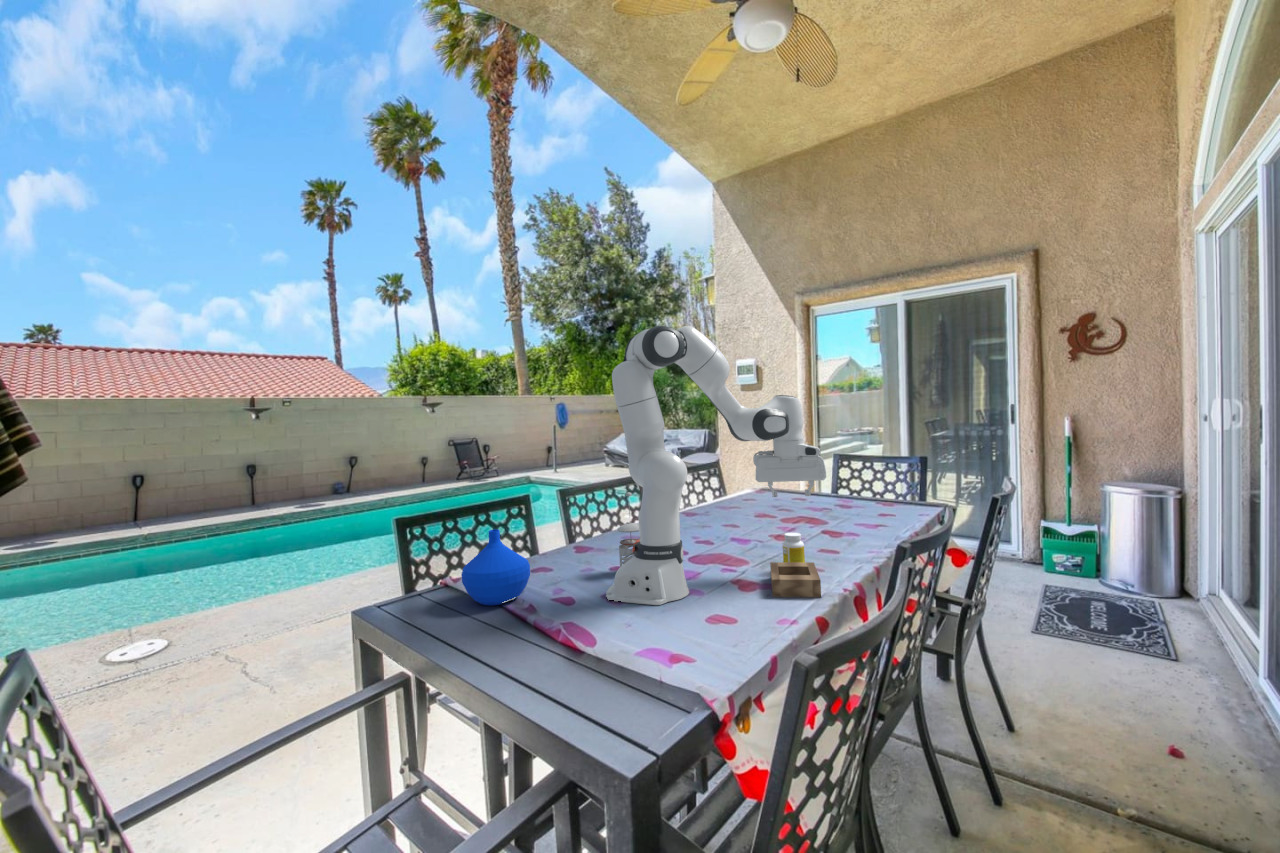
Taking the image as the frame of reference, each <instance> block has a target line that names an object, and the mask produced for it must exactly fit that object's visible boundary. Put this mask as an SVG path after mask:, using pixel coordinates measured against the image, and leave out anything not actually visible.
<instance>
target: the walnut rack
mask: <svg viewBox="0 0 1280 853" xmlns="http://www.w3.org/2000/svg"><path fill="white" fill-rule="evenodd" d="M769 564H770V581H771V582H770V583H771V592H772V597H773V598H775V597H776V598H819V597H821V598H822V585H821V583H822V582H821V578H820V575H819V572H818V570H817V567H816V565H815V562H805V563H800V562H777V561H776V562H775V561H773V562H770V563H769Z"/></svg>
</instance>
